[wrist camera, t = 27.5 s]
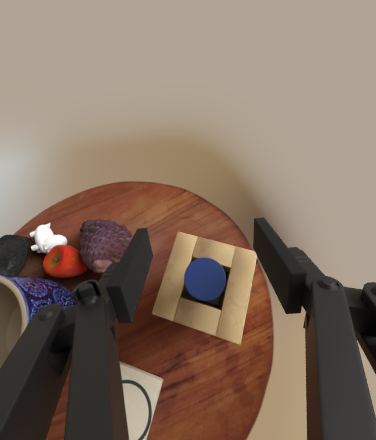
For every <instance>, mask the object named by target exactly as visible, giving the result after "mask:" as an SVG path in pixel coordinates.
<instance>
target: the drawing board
mask: <svg viewBox="0 0 376 440" xmlns="http://www.w3.org/2000/svg"><path fill="white" fill-rule="evenodd" d="M120 368H121V377H122V385H123V393H124V401H125V409H126V417H127V426H128V434H129V440H147V436H148V433H149V429H150V426H151V422H152V418H153V415H154V411H155V408H156V404H157V401H158V397H159V393H160V390H161V386H162V383H163V379H162V378H160V377H157V376H155V375H153V374H150V373H148V372H145V371H143V370H140V369H138V368H136V367H133V366H131V365H128V364H126V363H123V362H121V361H120Z"/></svg>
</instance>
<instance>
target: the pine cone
mask: <svg viewBox="0 0 376 440" xmlns="http://www.w3.org/2000/svg"><path fill="white" fill-rule="evenodd" d="M80 231H81V232H82V234H81V241H80V247H81V248H80V250H79V253H80V255H81V256H82V261H83V263H85V264H86V265H87V267H88V268H89V269H91V270H93V271H94V272H95V273H99V274H100V275H101V276H102V275H103V273H104V272H105V270H106V268H107V267H108V266H109V265H110V264H111V263H113V262H119V261H120V260H121V258H122V257H123V255H124V253H125V251H126V249H127V247H128V246H129V244H130V242H131V240H132V235H131V233H130V231H127V228H126V227H125V226H124V225H120V226H119V224H117V223H116V222H112V221H111V220H103V219H98V220H95V221H92V220H87V221H86V222H84V223H83V224H82V227H81V229H80Z"/></svg>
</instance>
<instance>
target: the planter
mask: <svg viewBox="0 0 376 440" xmlns="http://www.w3.org/2000/svg"><path fill="white" fill-rule="evenodd" d="M55 303H57V304H60V305H61V307H62V309H64V308H67V307H71V306H74V305H77V304H76V302H75V300H74V298H73V296H72V292H71V291H70V290H69V289H68V288H67V287H65V286H64V285H62V284H60V283H58V282H55V281H51V280H47V279H42V278H36V277H28V276H19V275H7V274H0V368H1V366H2V365H3V363H4V362H5V360H6V359H7V357H8V355H9V354H10V352H11V351H12V349H13V347H14V346H15V344H16V343H17V341H18V340H19V338H20V336H21V335H22V333H23V332H24V330H25V328H26V327H27V325H28V324H29V322H30V320H31V319H32V317H33V316H34V315H35V314H36V312H38V311H39V310H40V309H41V308H43V307H45V306H47V305H50V304H55Z"/></svg>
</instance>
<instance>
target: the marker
mask: <svg viewBox="0 0 376 440" xmlns="http://www.w3.org/2000/svg"><path fill="white" fill-rule="evenodd" d="M184 283H185V287H186V289H187V291H188V292H189V294H190V295H191V296H193V297H194V298H196V299H198V300H201V301H210V300H213V299H215V298H217V297H218V296H219V295H220V294H221V293H222V292H223V290H224V288H225V285H226V275H225V271H224V269H223V267H222V266H221V265H220V264H219V263H218V262H217V261H215V260H214V259H211V258H207V257H202V258H198V259H196V260H194V261H192V262H191V263H190V264H189V265H188V267H187V269H186V271H185V274H184Z"/></svg>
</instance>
